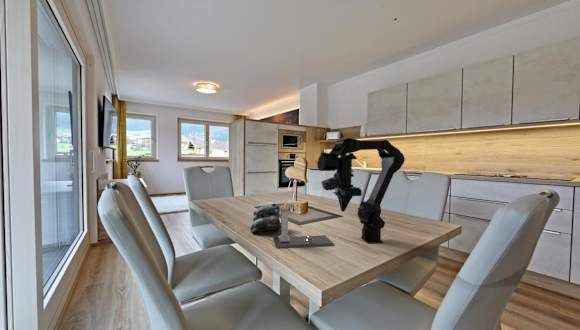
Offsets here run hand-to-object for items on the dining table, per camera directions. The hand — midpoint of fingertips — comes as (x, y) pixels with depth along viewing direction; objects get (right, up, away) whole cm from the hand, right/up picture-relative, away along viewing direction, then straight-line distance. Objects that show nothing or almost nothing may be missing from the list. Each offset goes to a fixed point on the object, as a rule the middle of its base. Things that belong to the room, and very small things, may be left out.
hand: (342, 211), depth 91 cm
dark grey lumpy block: (-32, -12, +16) cm, 38 cm away
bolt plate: (-16, -13, +2) cm, 20 cm away
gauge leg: (-23, -11, 0) cm, 25 cm away
